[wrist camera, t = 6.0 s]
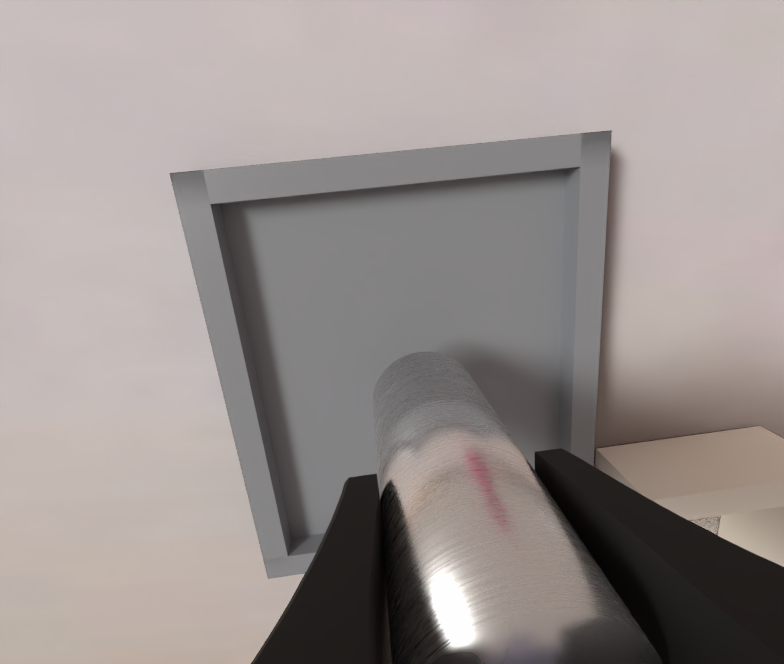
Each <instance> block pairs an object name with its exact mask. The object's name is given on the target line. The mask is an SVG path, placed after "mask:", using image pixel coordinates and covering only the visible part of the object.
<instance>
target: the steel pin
mask: <svg viewBox="0 0 784 664" xmlns="http://www.w3.org/2000/svg"><path fill="white" fill-rule="evenodd" d="M372 404H373V417H374V431H375V444H376V458H377V471H378V484H379V495H380V504H381V516H382V528H383V551H384V565H385V578H386V592H387V605H388V619H389V632H390V645H391V659H392V664H663V663H662V660H661V658H660V656H659V655H658V653H657V652H656V650H655V648H654V647H653V645H652V644H651V642H650V641H649V640H648V638H647V637H646V635H645V634H644V632H643V631H642V629H641V628H640V626H639V625H638V623H637V622H636V620H635V619H634V617H633V616H632V614H631V613H630V611H629V610H628V608H627V607H626V605H625V604H624V602H623V601H622V599H621V598H620V596H619V595H618V594H617V592H616V591H615V589H614V588H613V586H612V585H611V583H610V582H609V580H608V579H607V577H606V576H605V574H604V573H603V571H602V570H601V568H600V567H599V565H598V564H597V562H596V561H595V559H594V558H593V556H592V555H591V553H590V552H589V551H588V549H587V548H586V546H585V545H584V543H583V542H582V540H581V539H580V537H579V536H578V534H577V533H576V531H575V530H574V528H573V527H572V525H571V524H570V522H569V521H568V519H567V518H566V516H565V515H564V513H563V512H562V510H561V509H560V507H559V506H558V505H557V503H556V502H555V500H554V499H553V497H552V496H551V494H550V493H549V491H548V490H547V488H546V487H545V485H544V484H543V482H542V481H541V479H540V478H539V476H538V475H537V473H536V472H535V470H534V469H533V467H532V466H531V464H530V463H529V462H528V460H527V459H526V457H525V456H524V454H523V453H522V451H521V450H520V448H519V447H518V445H517V444H516V442H515V441H514V439H513V438H512V436H511V435H510V433H509V432H508V430H507V429H506V427H505V426H504V424H503V423H502V421H501V420H500V418H499V417H498V416H497V414H496V413H495V411H494V410H493V408H492V407H491V405H490V404H489V402H488V401H487V399H486V398H485V396H484V395H483V393H482V392H481V390H480V389H479V387H478V386H477V384H476V383H475V381H474V380H473V378H472V377H471V375H470V374H469V373H468V371H467V370H466V369H465V367H464V366H463V365H462V364H461V363H459V362H458V361H457V360H455V359H454V358H452V357H450V356H448V355H445V354H442V353H438V352H430V351H424V352H416V353H412V354H409V355H406V356H404V357H401V358H399V359H398V360H396V361H395V362H393V363H392V364H391V365H390V366H388V367H387V368H386V369H385V371H384V372H383V373H382V374H381V376H380V377H379V379H378V381H377V383H376V385H375V388H374V392H373V399H372Z"/></svg>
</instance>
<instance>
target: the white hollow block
mask: <svg viewBox="0 0 784 664" xmlns="http://www.w3.org/2000/svg"><path fill="white" fill-rule="evenodd" d="M595 467H596V468H597V469H599V470H601V471H602V472H604V473H606V474H607V475H609V476H611V477H612V478H614V479H616V480H617V481H619V482H621V483H623V484H624V485H626V486H628V487H629V488H631V489H633V490H635V491H636V492H638V493H640V494H641V495H643V496H645V497H647V498H648V499H650V500H652V501H654V502H656V503H657V504H659V505H661V506H663V507H665V508H666V509H668V510H670V511H672V512H674V513H675V514H677V515H679V516H681V517H683V518H685V519H687V520H695V519H702V518H709V517H715V516H721V518H720V524H719V530H718V536H719V537H721V538H723V539H725V540H727V541H729V542H731V543H733V544H736V545H738V546H740V547H742V548H744V549H746V550H748V551H750V552H752V553H754V554H757V555H759V556H761V557H763V558H765V559H768V560H770V561H772V562H774V563H776V564H779V565H781V566H783V567H784V439H783V438H781V437H780V436H778V435H776V434H774V433H772V432H770V431H768V430H767V429H765V428H763V427H761V426H755V427H748V428H741V429H734V430H727V431H719V432H712V433H705V434H698V435H691V436H683V437H676V438H669V439H662V440H655V441H647V442H640V443H633V444H626V445H619V446H611V447H604V448H597V449H596V457H595Z"/></svg>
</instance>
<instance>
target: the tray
mask: <svg viewBox="0 0 784 664" xmlns="http://www.w3.org/2000/svg"><path fill="white" fill-rule="evenodd" d="M611 131H612V130H611ZM611 131H601V132H590V133H580V134H570V135H559V136H549V137H539V138H528V139H518V140H508V141H498V142H487V143H477V144H467V145H456V146H446V147H436V148H425V149H415V150H405V151H395V152H384V153H374V154H364V155H353V156H343V157H333V158H322V159H312V160H302V161H292V162H281V163H271V164H261V165H250V166H240V167H230V168H219V169H209V170H199V171H188V172H178V173H170V177H171V181H172V185H173V189H174V194H175V198H176V202H177V206H178V210H179V214H180V218H181V222H182V227H183V231H184V235H185V239H186V243H187V247H188V251H189V255H190V259H191V264H192V268H193V272H194V276H195V280H196V284H197V288H198V292H199V297H200V301H201V305H202V309H203V313H204V317H205V321H206V325H207V329H208V334H209V338H210V342H211V346H212V350H213V354H214V358H215V362H216V367H217V371H218V375H219V379H220V383H221V387H222V391H223V395H224V399H225V404H226V408H227V412H228V416H229V420H230V424H231V428H232V432H233V437H234V441H235V445H236V449H237V453H238V457H239V461H240V465H241V469H242V474H243V478H244V482H245V486H246V490H247V494H248V498H249V502H250V507H251V511H252V515H253V519H254V523H255V527H256V531H257V535H258V539H259V544H260V548H261V552H262V556H263V560H264V564H265V568H266V572H267V577H268V579H270V578H277V577H283V576H290V575H297V574H303V573H306V571H307V569H308V567H309V566H310V564H311V562H312V560H313V558H314V556H315V554H316V552H317V550H318V547H319V545H320V543H321V541H322V539H323V537H324V535H325V532H326V530H327V528H328V526H329V524H330V521H331V519H332V517H333V514H334V512H335V509H336V507H337V504H338V501H339V499H340V496H341V493H342V490H343V486H344V483H345V482H346V480H347V479H348V478H349V477H356V476H363V475H370V474H377V479H378V471H377V458H376V444H375V431H374V417H373V404H372V399H373V392H374V388H375V385H376V383H377V381H378V379H379V377H380V376H381V374H382V373H383V372H384V371H385V369H386V368H387V367H388V366H390V365H391V364H392V363H393V362H395V361H396V360H398V359H399V358H401V357H404V356H406V355H409V354H412V353H416V352H424V351H430V352H438V353H442V354H445V355H448V356H450V357H452V358H454V359H455V360H457V361H458V362H459V363H461V364H462V365H463V366H464V367H465V369H466V370H467V371H468V373H469V374H470V375H471V377H472V378H473V380H474V381H475V383H476V384H477V386H478V387H479V389H480V390H481V392H482V393H483V395H484V396H485V398H486V399H487V401H488V402H489V404H490V405H491V407H492V408H493V410H494V411H495V413H496V414H497V416H498V417H499V418H500V420H501V421H502V423H503V424H504V426H505V427H506V429H507V430H508V432H509V433H510V435H511V436H512V438H513V439H514V441H515V442H516V444H517V445H518V447H519V448H520V450H521V451H522V453H523V454H524V456H525V457H526V459H527V460H528V462H529V463H530V464H531V466H532V467H533V469H534V470H535V452H537V451H544V450H551V449H559V448H562V449H564V450H566V451H568V452H570V453H571V454H573V455H575V456H577V457H579V458H580V459H582V460H584V461H585V462H587V463H589V464H590V465H592V466H594V448H595V429H596V411H597V392H598V373H599V355H600V336H601V318H602V299H603V280H604V262H605V243H606V225H607V206H608V187H609V169H610V150H611ZM378 487H379V484H378Z"/></svg>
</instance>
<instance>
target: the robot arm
mask: <svg viewBox="0 0 784 664" xmlns="http://www.w3.org/2000/svg"><path fill="white" fill-rule="evenodd" d="M535 472H536V473H537V475H538V476H539V478H540V479H541V481H542V482H543V484H544V485H545V487H546V488H547V490H548V491H549V493H550V494H551V496H552V497H553V499H554V500H555V502H556V503H557V505H558V506H559V507H560V509H561V510H562V512H563V513H564V515H565V516H566V518H567V519H568V521H569V522H570V524H571V525H572V527H573V528H574V530H575V531H576V533H577V534H578V536H579V537H580V539H581V540H582V542H583V543H584V545H585V546H586V548H587V549H588V551H589V552H590V553H591V555H592V556H593V558H594V559H595V561H596V562H597V564H598V565H599V567H600V568H601V570H602V571H603V573H604V574H605V576H606V577H607V579H608V580H609V582H610V583H611V585H612V586H613V588H614V589H615V591H616V592H617V594H618V595H619V596H620V598H621V599H622V601H623V602H624V604H625V605H626V607H627V608H628V610H629V611H630V613H631V614H632V616H633V617H634V619H635V620H636V622H637V623H638V625H639V626H640V628H641V629H642V631H643V632H644V634H645V635H646V637H647V638H648V640H649V641H650V642H651V644H652V645H653V647H654V648H655V650H656V652H657V653H658V655H659V656H660V658H661V660H662V663H663V664H784V567H783V566H781V565H779V564H776V563H774V562H772V561H770V560H768V559H765V558H763V557H761V556H759V555H757V554H754V553H752V552H750V551H748V550H746V549H744V548H742V547H740V546H738V545H736V544H733V543H731V542H729V541H727V540H725V539H723V538H721V537H719V536H718V535H716V534H714V533H712V532H710V531H708V530H706V529H704V528H702V527H700V526H698V525H696V524H694V523H692V522H690V521H689V520H687V519H685V518H683V517H681V516H679V515H677V514H675V513H674V512H672V511H670V510H668V509H666V508H665V507H663V506H661V505H659V504H657V503H656V502H654V501H652V500H650V499H648V498H647V497H645V496H643V495H641V494H640V493H638V492H636V491H635V490H633V489H631V488H629V487H628V486H626V485H624V484H623V483H621V482H619V481H617V480H616V479H614V478H612V477H611V476H609V475H607V474H606V473H604V472H602V471H601V470H599V469H597V468H596V467H594V466H592V465H590V464H589V463H587V462H585V461H584V460H582V459H580V458H579V457H577V456H575V455H573V454H571V453H570V452H568V451H566V450H564V449H562V448H559V449H551V450H544V451H537V452H535ZM251 664H392V659H391V645H390V632H389V619H388V605H387V592H386V578H385V565H384V551H383V528H382V516H381V504H380V495H379V487H378V479H377V474H370V475H363V476H356V477H349V478H348V479H347V480H346V482H345V483H344V486H343V490H342V493H341V496H340V499H339V501H338V504H337V507H336V509H335V512H334V514H333V517H332V519H331V521H330V524H329V526H328V528H327V530H326V532H325V535H324V537H323V539H322V541H321V543H320V545H319V547H318V550H317V552H316V554H315V556H314V558H313V560H312V562H311V564H310V566H309V567H308V569H307V571H306V573H305V575H304V577H303V578H302V580H301V582H300V584H299V586H298V588H297V590H296V591H295V593H294V595H293V597H292V599H291V600H290V602H289V604H288V606H287V607H286V609H285V611H284V612H283V614H282V616H281V617H280V619H279V621H278V622H277V624H276V626H275V627H274V629H273V631H272V632H271V634H270V635H269V637H268V638H267V640H266V641H265V643H264V645H263V646H262V648H261V649H260V651H259V652H258V654H257V655H256V657H255V658H254V660H253V661H252V663H251Z"/></svg>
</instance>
